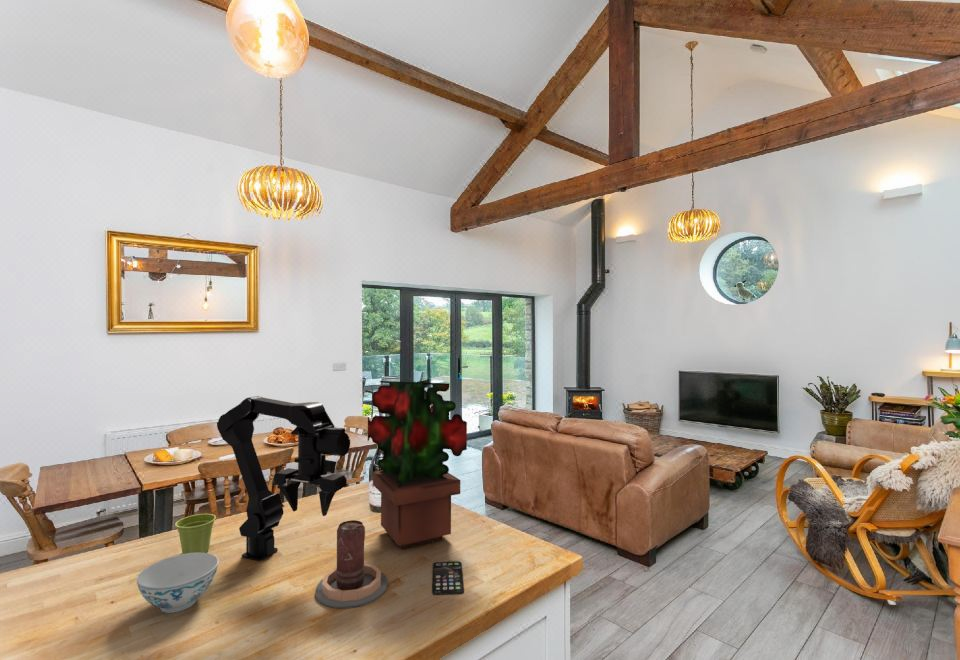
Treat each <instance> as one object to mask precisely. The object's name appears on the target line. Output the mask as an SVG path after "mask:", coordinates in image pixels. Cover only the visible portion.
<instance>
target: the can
mask: <svg viewBox="0 0 960 660" xmlns="http://www.w3.org/2000/svg"><path fill="white" fill-rule="evenodd" d="M363 523H364V522H362V521H360V520H354V519H353V520H346V521H342V522H341V523H339V524H338V527H337V530H336V568H337V587H338V588H339V589H340V590H354V589H358V588H359V587H361V585H362V584H363V582H364V563H365V538H366V527H365V525H364V524H363Z"/></svg>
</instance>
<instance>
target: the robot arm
mask: <svg viewBox="0 0 960 660" xmlns="http://www.w3.org/2000/svg"><path fill="white" fill-rule="evenodd" d="M260 415H264V416H268V417H269V416H270V417H274V418H279V419H284V420H286V421H288V422H289V423H290V424H291V425H294V426H296V427H295V428H294V429H293V430H292V431H290V435H292V436H293V435H294V436H297V438H298V439H297V441H298V442H297V449H298V450H297V457H294V463H295V464H297V468H286V469H283V470H280V471H277V472H276V473H275V474H274V475H273V478H272V479H273V482H272V483H273V484H272V485H274V486H277V489H279V490H280V491H281V493H282V494H283V496H284V497H285V499H286V501H287V503H288V505H289V506H290V509H291V511H292V512H293V513H294V512H296V511H297V510H298V505H299V487H300V485H301V483H302V484H303V483H304V484H310V485H318V486H319V489H320V491H318V496H319V497H318V498H319V503H320V510H321V514H322V515H321V516H323V517H326V516H327V514H328V512H329V509H330V507H331V503H332V501H333V498H334V497H335V494H336V493H337V492H339V491H341V490H342V489H343V488H345V487H347V486H348V485H347V484H348V482H347V481H348V480H347V477H346V476H345V474H338V473H335V471H336V467H337V461H336V460H335V461H334V460H330V459H326V458H327V457H326V455H327V456H328V455H329V456H337V457H344V456H346V455H347V454H348V452H349V450H350V447H351V439H350V436H349V434H348V433H347V432H346V428H345V427H338V428H337V427H335V424H334V423H333V422H332V421H333V420H331V418H330V416H329V415H328V413H327V410H326V408H325V406H324V404H323V403H321V402H319V401H313V402H311V401H310V402H298V403H295V402H290V401H289V402H288V401H283V400H280V399H273V398H268V397H263V396H260V395H256V396H250V397H246V398H244V399H243V400H242V401H241V402H240V403H239V404H237V405H236V406H235V407H233V408H231V409H229V410H228V411H227V412H225V413H223V414H222V415H220V416H219V418H218V420H217V422H216V428H217V430H218V432H219V435H220V437H221V438H222V440H223V441H224V442H225V443H227V444H228V445H229V446H230V447H231V448H232V451H233V453H234V457H235V459H236V463H237V466H238V468H239V472H240V475H241V478H242V481H243V484H244V487H245V490H246V494H247V497H248V501H247V506H246V510H245V512H246V517H247V518H246V520H245V521H244V522H243V523H242V524H241V525H240V526H239V528H238V530H239V533H240V536H241V537H245V538H246V540H245V541H246V547H245V549H246V550H245V551H246V552H244V553H243V554H241V558H244V559H249V560H254V561H259V562H260V561H263V560H264V559H266V558H268V557H269V556H271V555H272V554H274V553H276V552H278V550H279V549H278V548H277V547H275V535H274V534H275V533H274V528H276V527H278V526H279V525H280V521H281V520H282V518H283V515H284V507H285V505H284V504H283V502H282V499H281V495H280V493H279V492H276V493H273V492H272V491H271V490H270V489H269V487H268V485H267V482H266V479H265V475H264V472H263V469H262V467H261V464H260V460H259V458H258V454H257V451H256V448H255V445H254V444H253V437H254V436H253V435H254V431H255V427H254V422H255V421H256V420H257V419H258V418H259V416H260ZM328 473H331V474H329V475H327V474H328ZM326 475H327V476H326ZM324 476H325V477H324Z"/></svg>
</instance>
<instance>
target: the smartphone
mask: <svg viewBox="0 0 960 660" xmlns="http://www.w3.org/2000/svg"><path fill="white" fill-rule="evenodd" d="M431 581H432V583H431V589H432V590H431V594H432V596H433V595H434V596H445V595H446V596H447V595H451V596H452V595H462V594H464V593H465V586H464V574H463V564H462V562H461V561H459V560H458V561H457V560H456V561H454V560H453V561H435V562H433V563H432V580H431Z"/></svg>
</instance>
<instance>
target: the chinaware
mask: <svg viewBox="0 0 960 660" xmlns="http://www.w3.org/2000/svg"><path fill="white" fill-rule="evenodd" d="M218 566H219V558H218V557H217V555H215V554H212V553H209V552H206V553H187V554H177V555H173V556H169V557H166V558H163V559H161V560H159V561H156V562H154V563H152V564H150V565H148V566H147V567H144V569H142V570H141V571H140V572H139V573H138V574H137V577H136V583H137V584H136V585H137V588H138V590H139V593H140V594H141V596H142V598H143V599H144V600H145V601H146V602H148V603H149V604H150V605H152V606H154V607H157V608H160V609H159V610H160V611H161V612H163V613H167V614H171V613H177V612H182V611H184V610H186V609H188V608H191V607H192V606H194V605H195V603H196V602H197V600H198V598H199V597H200V596H202V594H204V593H205V592H206V591H207V590H208V588H209V586H210V585H211V584H212V582H213V580H214V578H215V575H216V573H217V570H218Z"/></svg>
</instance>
